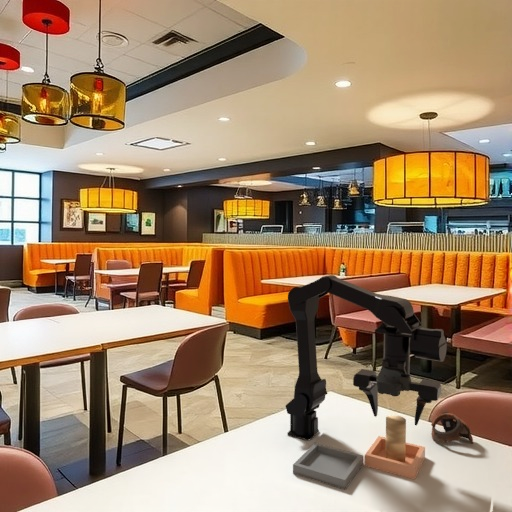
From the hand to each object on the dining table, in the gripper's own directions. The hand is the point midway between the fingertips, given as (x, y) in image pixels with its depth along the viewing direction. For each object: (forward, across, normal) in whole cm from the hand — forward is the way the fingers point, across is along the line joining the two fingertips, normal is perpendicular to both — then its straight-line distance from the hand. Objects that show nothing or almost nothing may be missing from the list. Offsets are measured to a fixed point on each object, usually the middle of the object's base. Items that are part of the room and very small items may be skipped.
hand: (395, 420), depth 103 cm
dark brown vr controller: (+10, +10, +19) cm, 24 cm away
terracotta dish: (+10, 0, 0) cm, 10 cm away
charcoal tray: (+10, -12, -11) cm, 19 cm away
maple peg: (+10, 0, 0) cm, 10 cm away
